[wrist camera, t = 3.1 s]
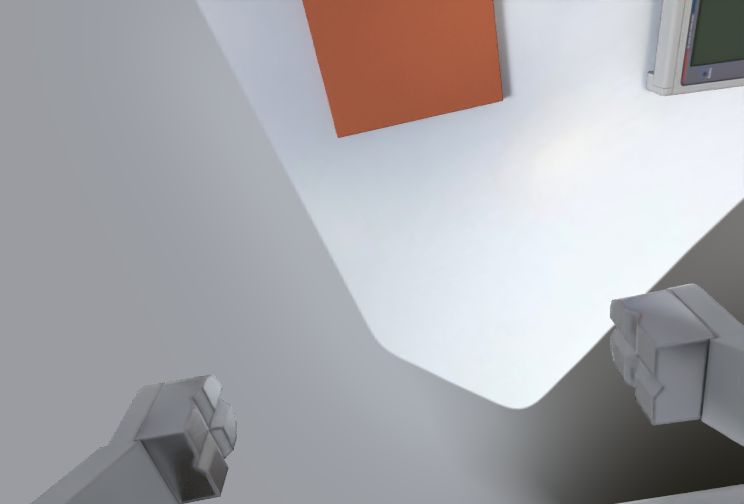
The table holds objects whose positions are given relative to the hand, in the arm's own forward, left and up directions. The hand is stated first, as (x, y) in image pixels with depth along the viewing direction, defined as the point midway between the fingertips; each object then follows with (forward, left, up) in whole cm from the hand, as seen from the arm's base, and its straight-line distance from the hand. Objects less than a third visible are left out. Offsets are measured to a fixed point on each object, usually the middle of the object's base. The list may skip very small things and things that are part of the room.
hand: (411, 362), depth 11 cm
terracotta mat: (+3, +6, -35) cm, 36 cm away
